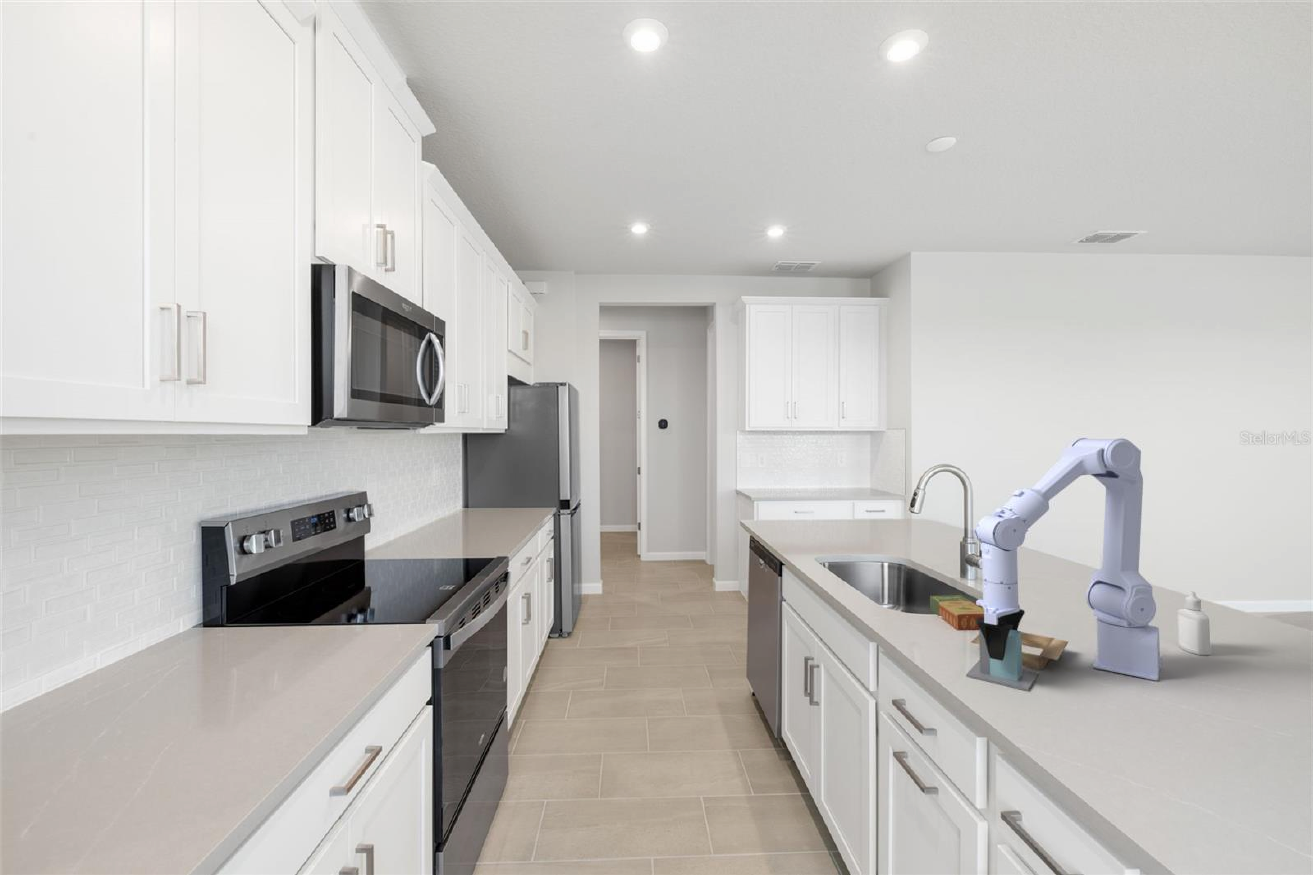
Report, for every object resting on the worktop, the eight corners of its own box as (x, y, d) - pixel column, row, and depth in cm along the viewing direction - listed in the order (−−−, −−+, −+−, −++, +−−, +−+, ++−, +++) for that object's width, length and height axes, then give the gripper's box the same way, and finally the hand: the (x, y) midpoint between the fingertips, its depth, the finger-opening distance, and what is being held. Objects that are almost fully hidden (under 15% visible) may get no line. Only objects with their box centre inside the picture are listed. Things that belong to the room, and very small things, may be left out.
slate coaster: (1038, 675, 109) (1038, 672, 109) (1028, 691, 102) (1028, 689, 102) (979, 661, 116) (979, 659, 116) (966, 676, 109) (966, 674, 109)
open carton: (1069, 652, 119) (1068, 640, 119) (1057, 673, 110) (1056, 659, 110) (988, 637, 129) (987, 625, 129) (970, 654, 120) (970, 642, 120)
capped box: (1022, 674, 109) (1021, 630, 109) (1017, 681, 106) (1016, 636, 106) (986, 665, 113) (984, 624, 113) (980, 672, 110) (979, 629, 110)
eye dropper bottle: (1181, 653, 117) (1180, 593, 117) (1177, 644, 122) (1175, 587, 122) (1211, 657, 115) (1210, 596, 115) (1205, 648, 119) (1204, 590, 119)
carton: (956, 632, 134) (956, 613, 134) (929, 611, 150) (928, 594, 150) (994, 631, 133) (993, 613, 133) (962, 610, 149) (962, 593, 149)
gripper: (986, 570, 117) (988, 637, 117) (965, 585, 107) (967, 659, 107) (1027, 575, 112) (1029, 645, 112) (1009, 591, 102) (1011, 669, 102)
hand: (1001, 652), depth 109 cm, fingers open, 7 cm apart
